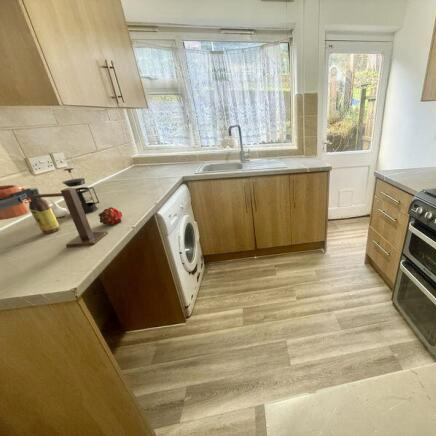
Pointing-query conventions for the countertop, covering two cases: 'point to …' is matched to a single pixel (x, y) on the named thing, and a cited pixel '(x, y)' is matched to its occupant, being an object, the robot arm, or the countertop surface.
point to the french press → (80, 181)
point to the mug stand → (77, 219)
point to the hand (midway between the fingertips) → (15, 193)
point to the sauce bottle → (43, 213)
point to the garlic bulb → (58, 210)
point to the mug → (17, 209)
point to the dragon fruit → (110, 216)
